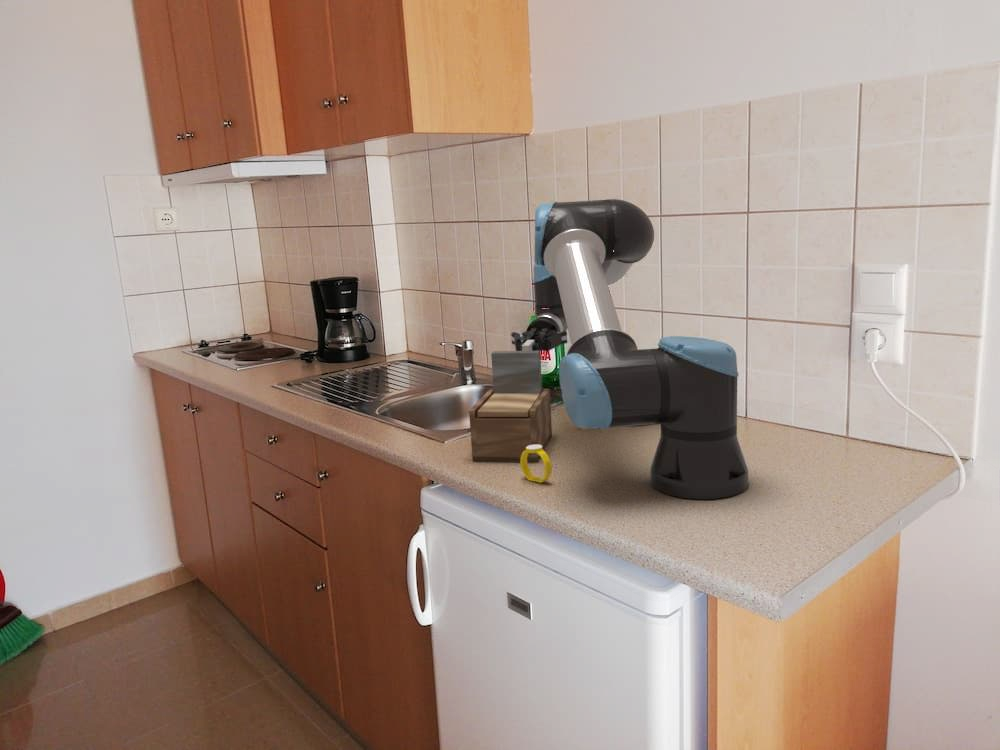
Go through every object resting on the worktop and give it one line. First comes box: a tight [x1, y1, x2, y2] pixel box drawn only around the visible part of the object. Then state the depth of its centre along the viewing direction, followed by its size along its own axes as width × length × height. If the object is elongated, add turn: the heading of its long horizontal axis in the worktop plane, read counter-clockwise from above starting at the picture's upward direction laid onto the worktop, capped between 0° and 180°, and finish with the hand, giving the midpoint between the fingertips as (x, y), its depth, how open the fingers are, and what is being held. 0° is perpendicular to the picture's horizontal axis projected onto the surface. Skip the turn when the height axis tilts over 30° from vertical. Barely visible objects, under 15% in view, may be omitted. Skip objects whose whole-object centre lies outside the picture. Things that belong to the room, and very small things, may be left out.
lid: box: [477, 350, 543, 417], centre depth 146 cm, size 15×9×9 cm, turn 167°
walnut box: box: [468, 388, 553, 464], centre depth 148 cm, size 16×12×10 cm
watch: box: [519, 444, 553, 484], centre depth 131 cm, size 6×3×6 cm, turn 44°
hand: (525, 352), depth 161 cm, fingers closed
